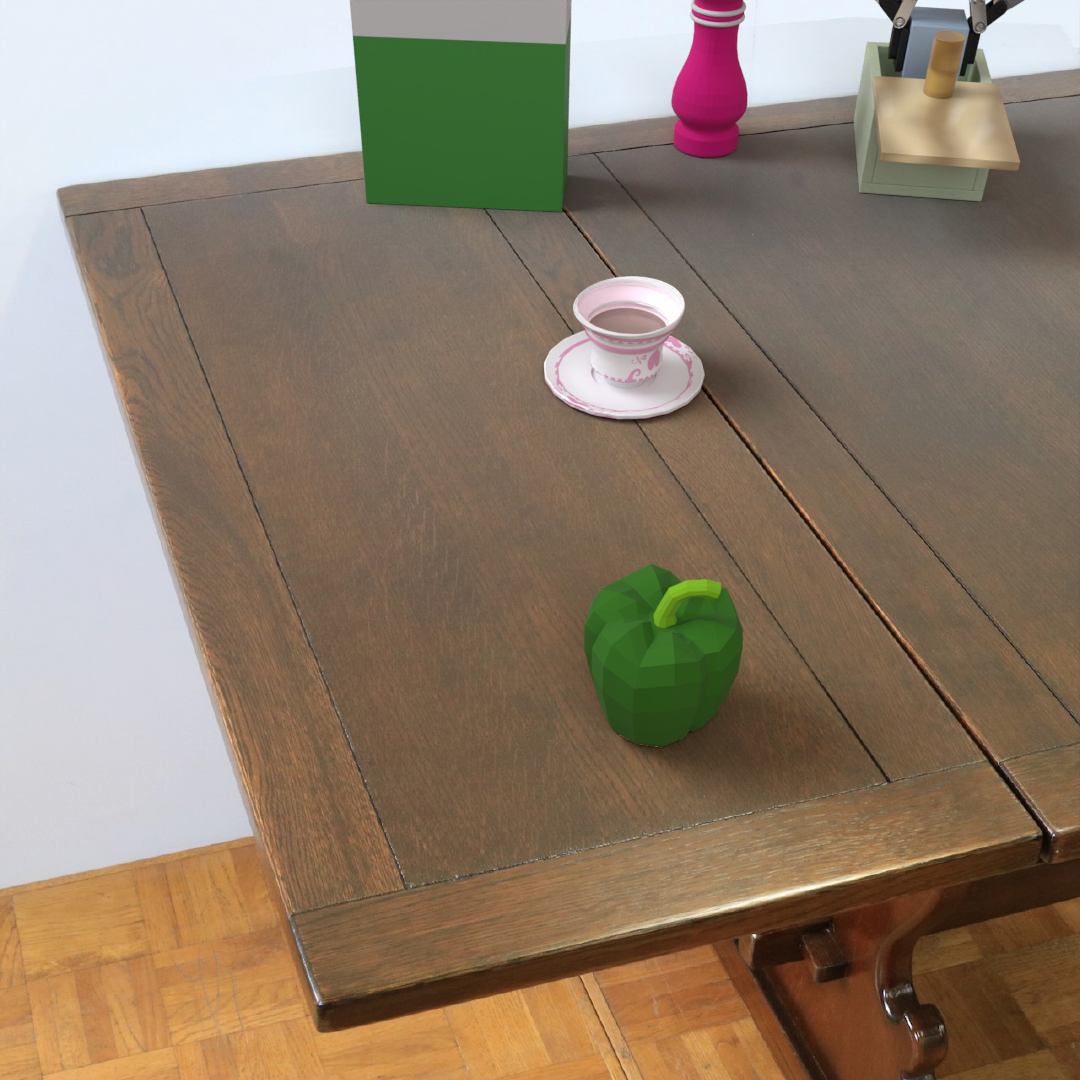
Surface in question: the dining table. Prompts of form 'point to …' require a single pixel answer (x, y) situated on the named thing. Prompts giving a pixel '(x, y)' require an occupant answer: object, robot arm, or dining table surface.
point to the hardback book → (464, 101)
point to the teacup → (625, 352)
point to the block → (930, 37)
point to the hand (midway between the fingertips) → (928, 66)
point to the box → (908, 175)
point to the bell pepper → (662, 653)
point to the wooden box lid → (943, 115)
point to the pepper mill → (711, 82)
